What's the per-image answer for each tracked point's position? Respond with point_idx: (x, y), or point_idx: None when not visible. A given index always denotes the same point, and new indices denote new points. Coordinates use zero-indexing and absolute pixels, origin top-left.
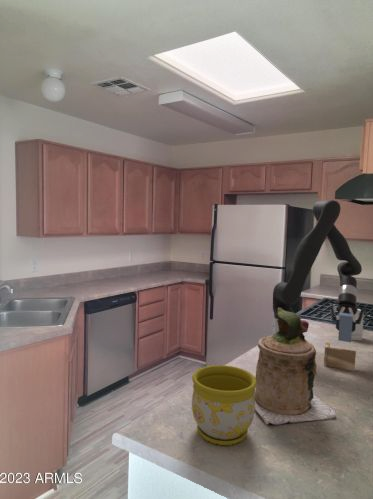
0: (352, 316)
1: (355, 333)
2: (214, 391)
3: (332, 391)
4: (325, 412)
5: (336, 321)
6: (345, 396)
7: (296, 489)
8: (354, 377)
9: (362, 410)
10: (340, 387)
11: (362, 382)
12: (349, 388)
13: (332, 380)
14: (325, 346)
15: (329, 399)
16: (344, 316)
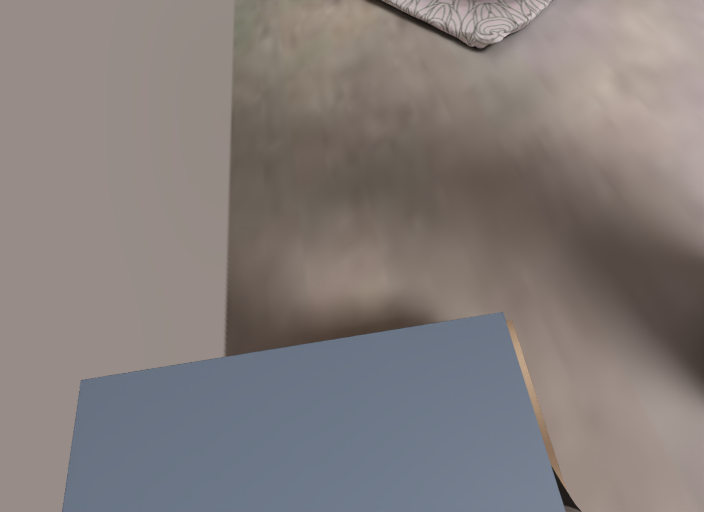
0: (84, 416)
1: None
2: None
3: (355, 93)
4: None
5: (561, 496)
6: (306, 86)
7: None
8: (291, 281)
9: (249, 38)
10: (334, 140)
11: (253, 245)
12: (301, 152)
13: (378, 182)
14: (517, 349)
15: (351, 40)
16: (347, 342)
